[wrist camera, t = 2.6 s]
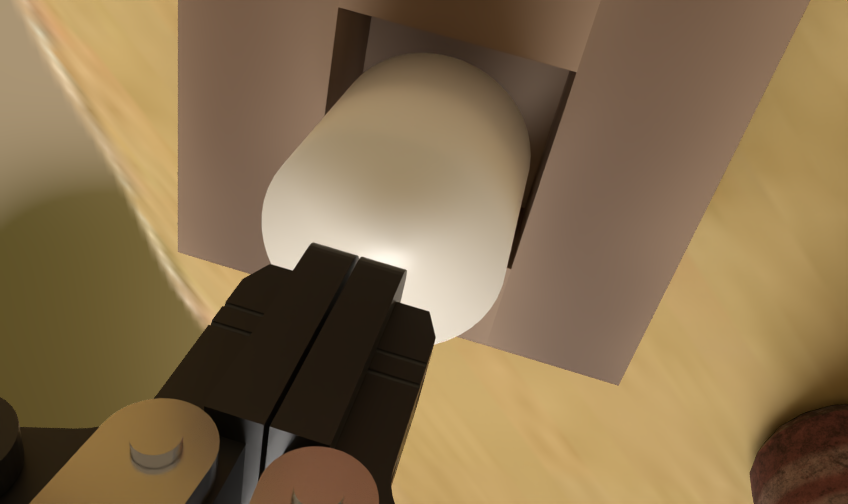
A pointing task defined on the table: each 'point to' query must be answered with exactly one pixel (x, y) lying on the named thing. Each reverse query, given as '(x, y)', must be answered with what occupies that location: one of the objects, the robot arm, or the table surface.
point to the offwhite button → (411, 184)
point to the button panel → (545, 121)
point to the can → (804, 461)
